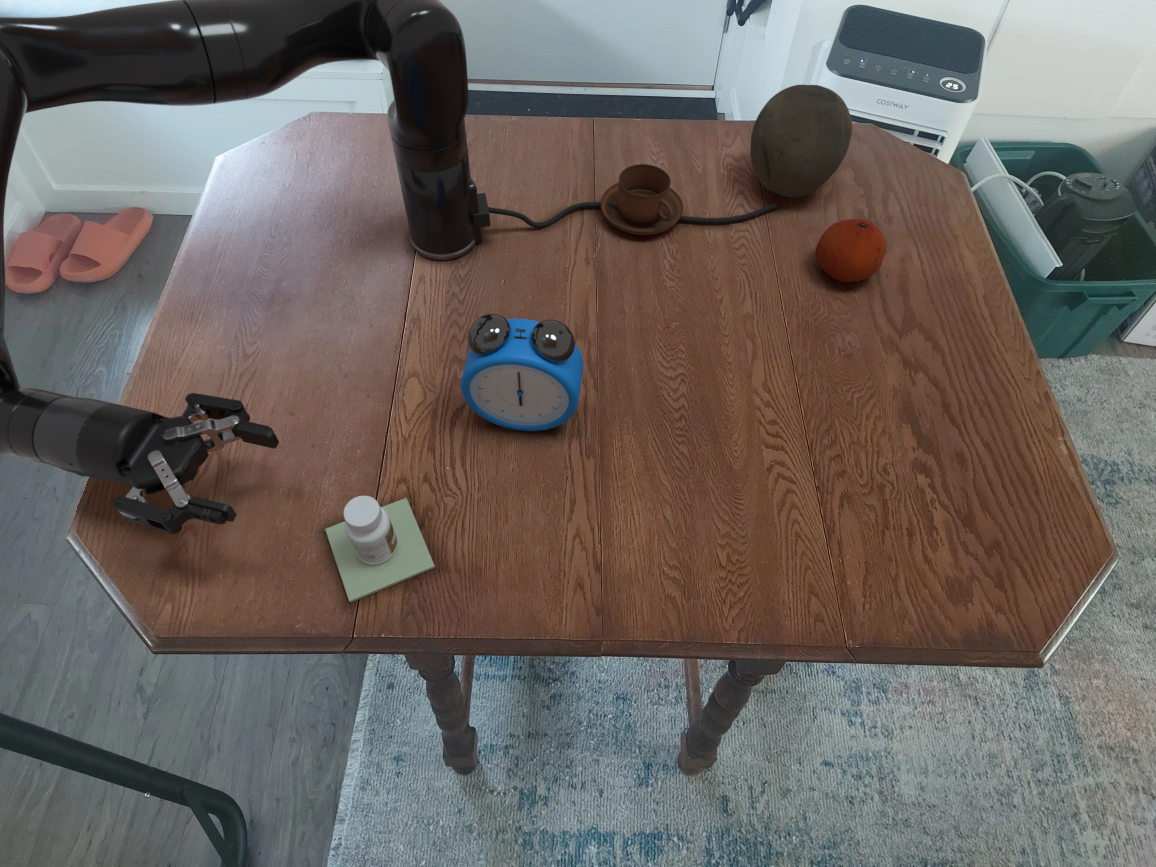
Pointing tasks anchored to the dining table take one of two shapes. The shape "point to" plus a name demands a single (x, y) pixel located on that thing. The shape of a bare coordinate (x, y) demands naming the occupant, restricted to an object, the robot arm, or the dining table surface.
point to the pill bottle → (369, 530)
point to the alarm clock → (522, 372)
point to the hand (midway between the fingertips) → (254, 475)
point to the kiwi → (800, 139)
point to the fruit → (851, 250)
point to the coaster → (398, 568)
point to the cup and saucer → (642, 201)
